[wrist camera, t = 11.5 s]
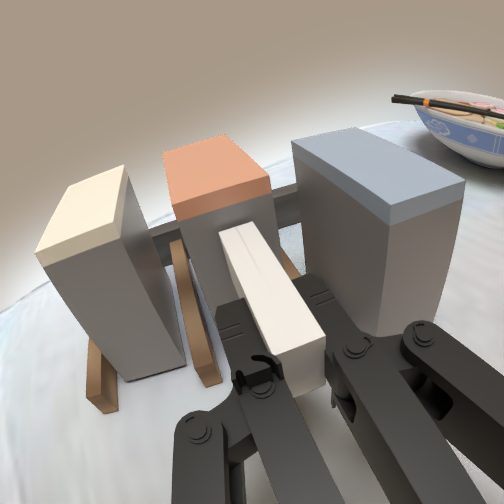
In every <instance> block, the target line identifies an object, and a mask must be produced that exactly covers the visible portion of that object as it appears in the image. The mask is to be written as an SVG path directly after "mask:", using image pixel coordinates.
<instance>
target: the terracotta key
mask: <svg viewBox="0 0 504 504" xmlns="http://www.w3.org/2000/svg"><path fill="white" fill-rule="evenodd" d="M162 154H163V160H164V166H165V171H166V177H167V183H168V188H169V193H170V198H171V204H172V207H173V210H174V213H175V216H176V219H177V222H178V225H179V228H180V231H181V233H182V236H183V239H184V242H185V245H186V248H187V250H188V253H189V256H190V259H191V262H192V264H193V267H194V270H195V272H196V275H197V278H198V281H199V283H200V286H201V289H202V291H203V294H204V297H205V299H206V302H207V304H208V307H209V310H210V312H211V315H212V317H213V320H214V322H215V314H216V309H217V306H220V305H223V304H226V303H229V302H232V301H235V300H238V299H239V296H238V294H237V292H236V289H235V287H234V284H233V282H232V278H231V275H230V272H229V268H228V265H227V261H226V258H225V254H224V251H223V247H222V244H221V240H220V236H219V233H218V232H221V231H224V230H227V229H230V228H233V227H236V226H239V225H242V224H246V223H249V222H252V221H253V223H254V224H255V226H256V227H257V229H258V231H259V232H260V234H261V235H262V237H263V238H264V240H265V241H266V243H267V244H268V246H269V247H270V249H271V251H272V252H273V254H274V255H275V257H276V258H277V260H278V261H279V263H280V265H281V266H282V268H283V269H284V266H283V259H282V252H281V246H280V239H279V233H278V226H277V220H276V214H275V208H274V202H273V195H272V189H271V183H270V177H269V175H268V174H267V173H266V172H265V171H264V170H263V169H262V168H261V167H260V166H259V165H258V164H257V163H256V162H255V161H253V160H252V159H251V158H250V157H249V156H248V155H247V154H246V153H245V152H244V151H243V150H242V149H240V148H239V147H238V146H237V145H236V144H235V143H234V142H233V141H231V140H230V139H229V138H228V137H227V136H226V135H225V134H224V135H220V136H216V137H213V138H209V139H206V140H202V141H199V142H195V143H192V144H189V145H185V146H182V147H179V148H176V149H172V150H169V151H166V152H163V153H162ZM215 325H216V322H215ZM216 327H217V325H216ZM217 330H218V328H217ZM218 332H219V331H218Z"/></svg>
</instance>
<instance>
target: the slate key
mask: <svg viewBox="0 0 504 504" xmlns="http://www.w3.org/2000/svg"><path fill="white" fill-rule="evenodd" d="M291 144H292V152H293V159H294V167H295V175H296V183H297V191H298V199H299V208H300V217H301V226H302V235H303V245H304V255H305V266H306V274H309V273H311V274H313V275H315V276H316V277H318V278H320V279H322V280H323V282H324V283H325V284H326V286H327V287H328V288H329V291H331V292H332V294H333V295H334V296H335V299H337V300H338V302H339V303H340V305H341V306H342V307H343V309H344V310H345V311H346V313H347V314H348V315H349V317H350V318H351V319H352V321H353V322H354V324H355V325H356V326H357V327H358V328H359V329H360V330H361V331H363V332H365V333H368V334H370V335H371V336H375V337H386V336H392V335H398V334H403V332H404V330H405V328H406V327H407V325H409V324H410V323H412V322H414V321H419V320H424V321H430V322H432V323H433V320H434V317H435V314H436V311H437V308H438V305H439V301H440V298H441V295H442V291H443V288H444V284H445V281H446V277H447V273H448V269H449V265H450V261H451V257H452V253H453V249H454V244H455V240H456V235H457V230H458V225H459V220H460V215H461V209H462V203H463V197H464V190H465V183H466V180H465V179H463V178H461V177H459V176H458V175H456V174H454V173H452V172H450V171H448V170H447V169H445V168H443V167H441V166H439V165H437V164H435V163H433V162H431V161H429V160H427V159H425V158H423V157H421V156H419V155H417V154H415V153H413V152H411V151H409V150H407V149H404V148H402V147H400V146H398V145H396V144H394V143H391V142H389V141H387V140H385V139H382V138H380V137H378V136H375V135H373V134H371V133H368V132H366V131H363V130H361V129H358V128H356V127H354V128H349V129H344V130H338V131H334V132H329V133H324V134H319V135H314V136H310V137H305V138H301V139H297V140H292V141H291Z"/></svg>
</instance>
